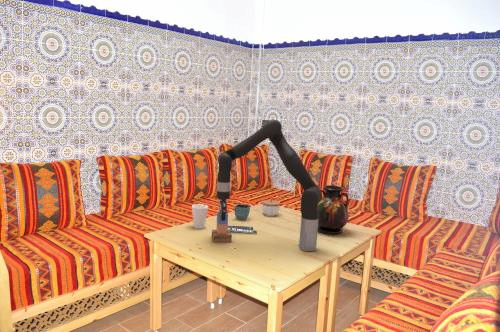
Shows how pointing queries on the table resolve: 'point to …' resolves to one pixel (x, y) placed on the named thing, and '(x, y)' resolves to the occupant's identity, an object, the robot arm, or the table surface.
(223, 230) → the terracotta block
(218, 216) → the blue block
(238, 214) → the flower pot
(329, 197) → the amphora vase
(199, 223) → the foam cup
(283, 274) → the table surface
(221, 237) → the plinth
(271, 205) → the lidded bowl
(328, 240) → the table surface
